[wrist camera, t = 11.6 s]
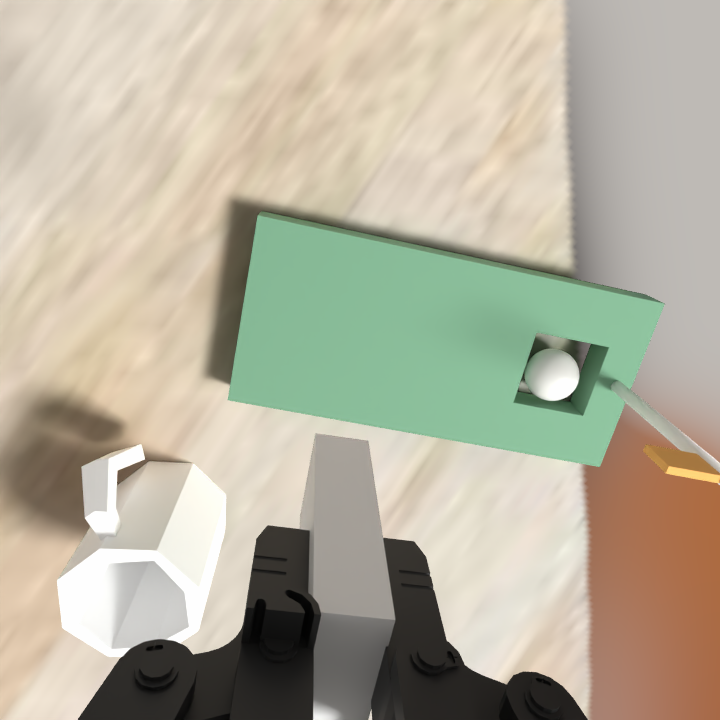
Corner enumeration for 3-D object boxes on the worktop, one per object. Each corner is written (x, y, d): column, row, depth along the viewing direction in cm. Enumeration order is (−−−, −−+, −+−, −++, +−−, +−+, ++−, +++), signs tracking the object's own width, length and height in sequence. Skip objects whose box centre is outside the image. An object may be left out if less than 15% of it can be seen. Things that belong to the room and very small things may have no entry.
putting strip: (262, 210, 37) (224, 249, 24) (646, 294, 41) (805, 371, 27) (233, 386, 41) (187, 504, 28) (585, 450, 44) (698, 585, 31)
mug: (245, 537, 46) (224, 637, 36) (139, 568, 46) (92, 675, 37) (182, 399, 41) (140, 472, 32) (66, 435, 42) (-7, 517, 33)
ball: (587, 352, 41) (535, 337, 42) (586, 364, 38) (531, 347, 39) (570, 399, 42) (520, 383, 43) (568, 414, 39) (515, 397, 40)
